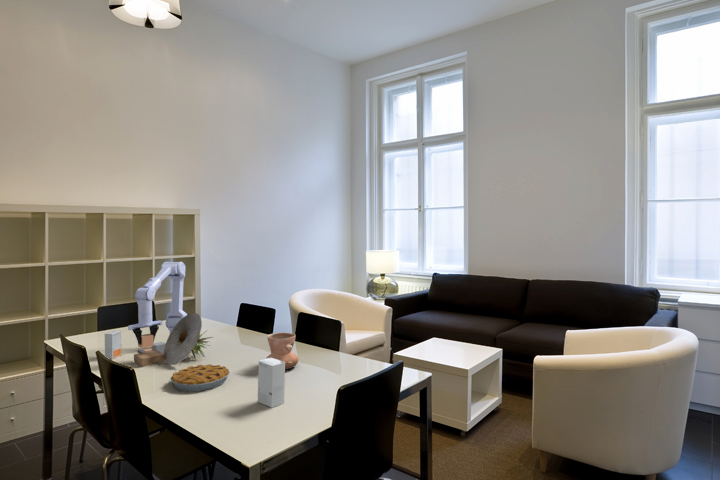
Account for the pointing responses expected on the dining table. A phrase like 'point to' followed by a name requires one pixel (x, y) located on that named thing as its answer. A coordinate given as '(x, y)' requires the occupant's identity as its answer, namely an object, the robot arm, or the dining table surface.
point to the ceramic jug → (283, 348)
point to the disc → (185, 339)
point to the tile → (145, 350)
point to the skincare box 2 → (271, 382)
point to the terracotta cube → (147, 341)
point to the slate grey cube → (159, 347)
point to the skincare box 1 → (113, 344)
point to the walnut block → (149, 358)
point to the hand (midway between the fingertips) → (146, 343)
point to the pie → (200, 377)
